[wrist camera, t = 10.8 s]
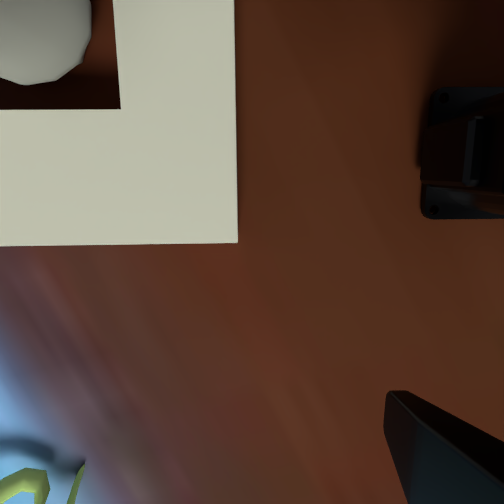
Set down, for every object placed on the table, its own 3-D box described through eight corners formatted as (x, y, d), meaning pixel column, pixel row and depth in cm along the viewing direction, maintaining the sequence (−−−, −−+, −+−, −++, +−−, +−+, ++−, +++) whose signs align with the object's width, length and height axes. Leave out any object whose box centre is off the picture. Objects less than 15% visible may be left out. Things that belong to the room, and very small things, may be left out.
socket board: (230, -227, 17) (228, -295, 14) (238, 234, 21) (237, 242, 18) (-203, -235, 16) (-282, -308, 14) (-107, 238, 20) (-155, 248, 18)
